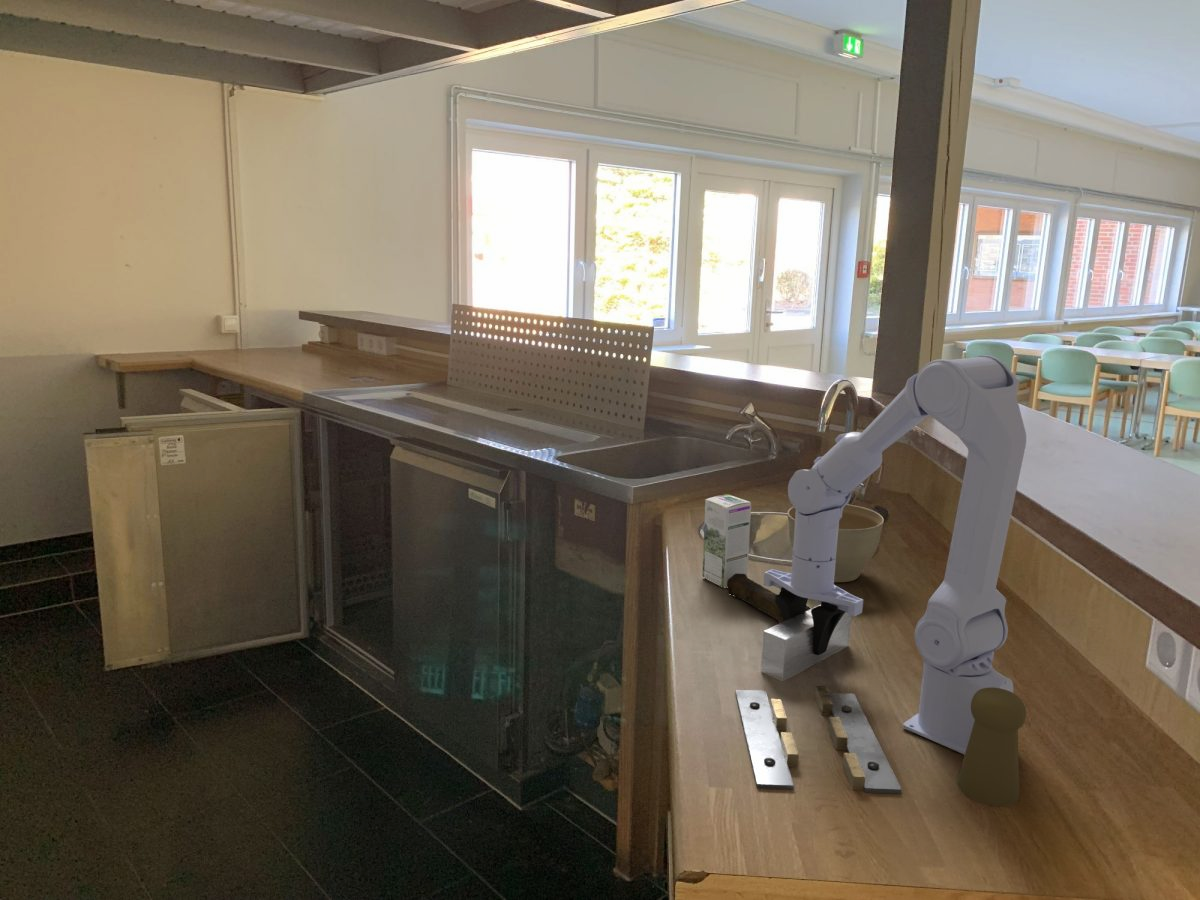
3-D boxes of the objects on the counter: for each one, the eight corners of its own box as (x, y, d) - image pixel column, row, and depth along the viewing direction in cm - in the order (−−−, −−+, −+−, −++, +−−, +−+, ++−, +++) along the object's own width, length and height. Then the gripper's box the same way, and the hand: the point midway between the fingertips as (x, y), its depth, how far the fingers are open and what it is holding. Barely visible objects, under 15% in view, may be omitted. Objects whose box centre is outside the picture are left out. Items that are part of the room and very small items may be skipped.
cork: (957, 798, 89) (969, 702, 87) (956, 766, 95) (967, 675, 92) (1021, 812, 87) (1035, 714, 85) (1016, 779, 93) (1029, 686, 90)
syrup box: (748, 582, 147) (753, 501, 144) (722, 589, 144) (727, 506, 140) (725, 572, 152) (730, 492, 148) (700, 578, 148) (704, 497, 145)
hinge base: (853, 697, 109) (854, 685, 109) (901, 793, 90) (902, 780, 90) (735, 693, 110) (735, 681, 110) (757, 788, 90) (757, 774, 90)
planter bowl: (826, 552, 163) (830, 496, 160) (897, 579, 150) (903, 519, 147) (764, 568, 154) (768, 509, 151) (835, 598, 141) (840, 535, 138)
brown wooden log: (724, 596, 142) (726, 570, 140) (745, 593, 143) (746, 566, 142) (795, 644, 125) (797, 614, 124) (818, 639, 126) (820, 610, 125)
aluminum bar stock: (848, 646, 124) (851, 607, 123) (782, 681, 113) (785, 639, 112) (827, 638, 126) (830, 600, 125) (760, 672, 116) (763, 630, 114)
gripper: (878, 562, 114) (869, 656, 117) (787, 535, 124) (780, 622, 127) (849, 575, 109) (841, 673, 112) (757, 545, 120) (751, 636, 123)
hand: (807, 647), depth 119 cm, fingers closed on aluminum bar stock, 3 cm apart
